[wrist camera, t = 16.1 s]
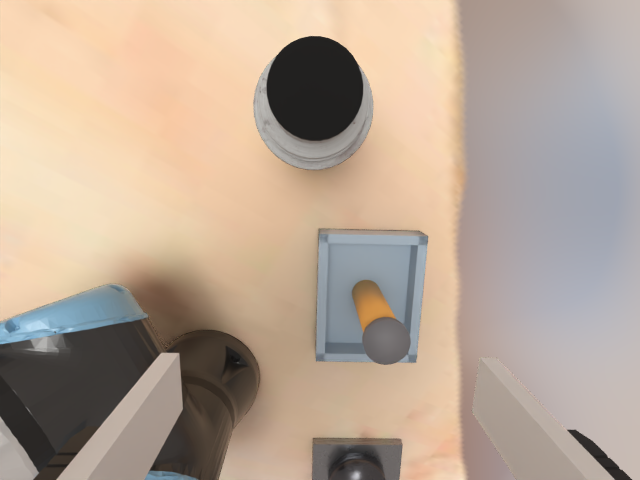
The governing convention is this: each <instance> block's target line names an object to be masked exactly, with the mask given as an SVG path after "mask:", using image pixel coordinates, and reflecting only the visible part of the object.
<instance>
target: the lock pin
mask: <svg viewBox="0 0 640 480" xmlns="http://www.w3.org/2000/svg"><path fill="white" fill-rule="evenodd" d="M352 297H353V300H354V304H355V307H356V310H357V313H358V317H359V320H360V323H361V327H362V330H363V336H362V342H363V346H364V350H365V352H366V354H367V356H368V357H369V358H370V359H371V360H372V361H374V362H376V363H379V364H384V365H388V364H393V363H396V362H398V361H400V360H401V359H403V358H404V357H405V356H406V354H407V353H408V351H409V349H410V345H411V339H410V335H409V333H408V331H407V329H406V328H405V326H404V325H403V324H402V323H401V322H400V321H399V320H397V319H396V317H395V316H394V314H393V312H392V310H391V308H390V307H389V305H388V303H387V301H386V299H385V298H384V296H383V294H382V292H381V290H380V289H379V287H378V285H377V284H376V283H375V282H373V281H371V280H362V281H359V282H358V283H357V284H356V285H355V286H354V287H353V290H352Z"/></svg>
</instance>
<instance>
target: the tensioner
mask: <svg viewBox="0 0 640 480" xmlns="http://www.w3.org/2000/svg"><path fill="white" fill-rule="evenodd" d="M401 455H402V442H401V439H348V438H313V471H312V480H399V477H400V466H401Z"/></svg>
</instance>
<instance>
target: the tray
mask: <svg viewBox="0 0 640 480" xmlns="http://www.w3.org/2000/svg"><path fill="white" fill-rule="evenodd" d="M427 244H428V236H427V235H425V234H423V233H422V232H420V231H401V230H357V229H319V243H318V281H317V319H316V361H337V362H374V361H372V360H371V359H370V358H369V357H368V356H367V354H366V352H365V350H364V346H363V342H362V336H363V330H362V327H361V323H360V320H359V317H358V313H357V310H356V307H355V304H354V300H353V297H352V290H353V287H354V286H355V285H356V284H357V283H358V282H359V281H362V280H371V281H373V282H375V283H376V284H377V285H378V287H379V289H380V290H381V292H382V294H383V296H384V298H385V299H386V301H387V303H388V305H389V307H390V308H391V310H392V312H393V314H394V316H395V317H396V319H397V320H399V321H400V322H401V323H402V324H403V325H404V326H405V328H406V329H407V331H408V333H409V335H410V339H411V345H410V349H409V351H408V353H407V354H406V356H405V357H404V358H403V359H401V360H400V361H398V362H411V363H416V359H417V348H418V338H419V327H420V317H421V306H422V296H423V286H424V275H425V265H426V254H427Z"/></svg>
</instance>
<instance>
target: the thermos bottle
mask: <svg viewBox="0 0 640 480" xmlns="http://www.w3.org/2000/svg"><path fill="white" fill-rule="evenodd" d="M253 103H254V117H255V121H256V126H257V129H258V131H259V133H260V136H261V138H262V139H263V141H264V142H265V144H266V145H267V147H268V148H269V149H270V150H271V151H272V152H273V153H274V154H275V155H276V156H277V157H278V158H280V159H281V160H283V161H284V162H286V163H287V164H290V165H292V166H295V167H297V168H302V169H307V170H321V169H326V168H331V167H333V166H335V165H338V164H340V163H342V162H343V161H345V160H346V159H348V158H349V157H351V156H352V155H353V154H354V153H355V152H356V151H357V150H358V149H359V147H360V146H361V144H362V143H363V141H364V140H365V138H366V136H367V134H368V131H369V129H370V126H371V121H372V117H373V98H372V91H371V88H370V85H369V82H368V80H367V77H366V76H365V74H364V72H363V71H362V69H361V67H360V66H359V65H358V64H357V62H356V60H355V58H354V57H353V55H352V54H351V53H350V52H349V51H348V50H347V49H346V48H345V47H344V46H342V45H341V44H340V43H338V42H336V41H334V40H332V39H329V38H325V37H321V36H309V37H304V38H300V39H298V40H296V41H293V42H291V43H290V44H288V45H287V46H286V47H284V48H283V49H282V50H281V51H280V53H279V54H278V55H277V56H276V57H275V58H274V59H273V60H272V61H271V62H270V63H269V64H268V65H267V66H266V68H265V69H264V71H263V73H262V75H261V76H260V78H259V81H258V84H257V87H256V90H255V96H254V102H253Z"/></svg>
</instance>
